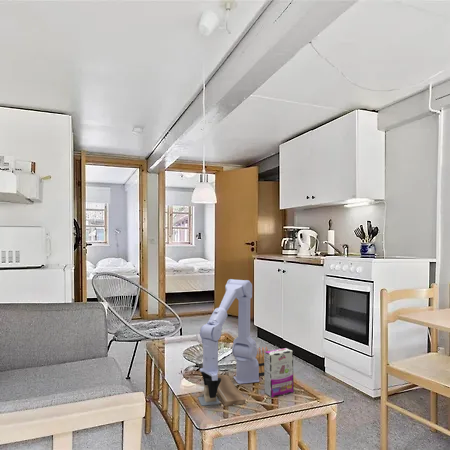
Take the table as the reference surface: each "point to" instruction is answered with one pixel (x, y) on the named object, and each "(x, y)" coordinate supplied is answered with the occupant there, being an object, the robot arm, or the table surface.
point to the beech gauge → (207, 395)
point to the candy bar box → (278, 372)
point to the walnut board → (229, 392)
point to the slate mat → (208, 402)
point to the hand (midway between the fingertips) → (210, 393)
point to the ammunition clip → (261, 360)
